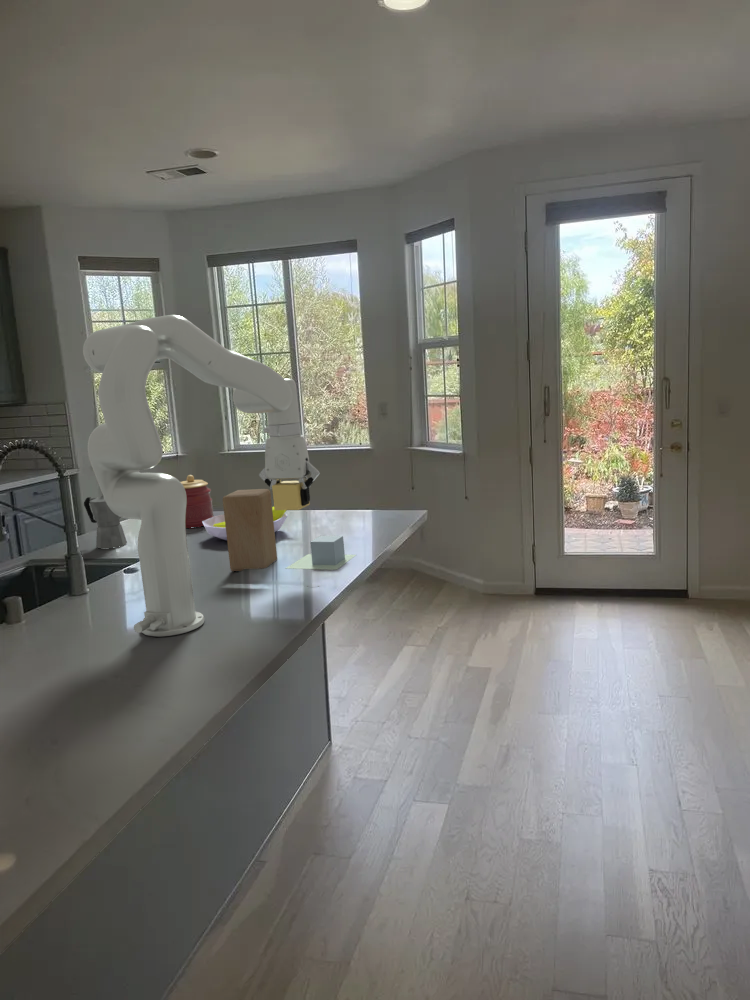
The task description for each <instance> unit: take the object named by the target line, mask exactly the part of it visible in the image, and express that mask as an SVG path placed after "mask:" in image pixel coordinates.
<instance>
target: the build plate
mask: <svg viewBox="0 0 750 1000" xmlns="http://www.w3.org/2000/svg"><path fill="white" fill-rule="evenodd" d="M356 556H357V554H345V559H344V560H342V561H341V562H339V563H338V564H337V565H312V555H311V553H307V554H306V555H305V556H302V557H301V558H299V559H298V560H296V561H295V562H293V563H292V564H290V565H288V566H286V567H285V568H284V569H286V570H287V569H288V570H294V569H295V570H329V571H330V570H333V571H334V570H339V569H340V568H342V567H343V566H344V565H346V564H347V562H349V561H350V560H352V559H353V558H355V557H356Z"/></svg>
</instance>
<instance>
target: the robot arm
mask: <svg viewBox="0 0 750 1000" xmlns="http://www.w3.org/2000/svg"><path fill="white" fill-rule="evenodd" d="M82 354H83V358H84V360H85V362H86V364H87V365H88V366H89V367H90V368H91V369H92V370H94V371H96V372H97V373H99V374H100V373H101V377H100V379H99V380H100V381H99V384H98V393H97V394H98V402H99V406H100V410H101V414H102V416H103V420H104V422H103V423H101V424H99V425H98V426H96V427H95V428H94V429H93V430H92V432H91V433H90V435H89V437H88V440H87V457H88V459H89V462H90V465H91V466H90V467H91V468H92V470H93V473H94V475H95V479H96V481H97V483H98V487H99V488H100V492H101V491H102V492H101V495H102V496H104V499H105V501H106V503H107V505H108V507H109V508H110V509H111V511H112V512H113V513H114V514H116V515H117V516H120V517H121V518H123V519H127V520H128V519H129V520H137V521H141V522H140V528H139V530H138V534H137V535H138V536H137V551H138V560H139V565H140V573H141V581H142V582H141V583H142V589H143V595H144V602H145V609H146V611H144V612H143V615H144V616H143V617H144V618H142V620H140V621H139V622H137V623H136V624H134V626H133V630H134V632H136V633H137V634H140V633H141V634H143V635H145V636H148V637H171V636H176V635H181V634H185V633H189V632H191V631H194V630H196V629H198V628H199V627H202V625H203V624H204V623H205V617H204V614H203V613H201V612H199V611H196V605H195V596H194V589H193V581H192V573H191V565H190V563H191V562H190V557H189V547H188V539H187V530H186V526H185V518H186V505H187V496H186V491H185V488H184V486H183V485H182V483H181V482H182V481H180V479H178V478H177V477H175V476H173V475H170V474H167V473H163V472H140V471H144V470H145V471H146V470H150V469H152V468H154V467H156V466H157V465H158V464H160V462H161V460H162V457H163V454H164V453H163V444H162V442H161V441H162V440H161V438H160V435H159V433H158V432H159V431H158V429H157V426H156V423H155V421H154V417H153V415H152V412H151V408H150V406H149V402H148V398H147V395H146V394H147V393H146V386H147V379H148V376H149V374H150V371H151V370H152V368H153V366H154V364H155V363H156V361H157V360H166V359H168V360H171V361H173V362H174V363H175V364H177V365H179V366H181V367H182V368H183V369H185V370H186V371H188V372H189V373H191V374H193V376H195V377H196V378H197V379H199V380H201V381H202V382H203V383H206V384H209V385H213V386H217V387H220V388H228V389H234V390H233V393H232V401H233V404H234V406H235V407H236V409H238V410H239V411H241V412H242V413H245V414H265V413H266V417H267V426H265V427H264V428H263V432H264V434H265V433H266V434H268V436H269V437H267V438H266V439H265V448H264V461H265V462H264V463H265V464H264V467H263V469H262V470H261V471H260V472H259V473H258V477H259V478H261V480H263V481H264V482H265V484H266V485H267V486H268V487H269V490H272V485H275V484H278V483H280V482H282V480H297V481H299V483H300V485H301V487H302V489H301V490H300V495H301V505H302V506H305V505H307V504H309V502H310V501H311V495H310V488H311V486H312V485H313V483H315V480H316V479H317V478H318V477H319V475H320V474H321V473H320V471H319V469H317V468H316V467H315V466H314V465H313V464H312V463H311V462H310V457H309V456H310V455H309V452H308V446H307V443H306V439H305V437H304V435H302V433H301V432H302V431H301V421H300V411H299V401H298V391H297V385H296V381H295V380H294V379H293V378H284V377H283V376H282V375H280V374H279V373H278V372H276V371H275V370H274V369H273V368H271V367H270V366H268V365H266V364H264V363H263V362H260V361H259V360H256V359H253V358H251V357H248V356H246V355H243V354H241V353H238V352H235V351H233V350H230V349H228V348H226V347H224V346H223V345H222V344H220V343H219V342H218V341H217V340H215V339H214V338H212V337H211V336H210V335H209V334H207V333H206V332H204V331H203V330H201V328H199V327H198V326H197V325H195V324H194V323H193V322H191V321H190V320H189V319H187V318H186V317H183V316H181V315H177V314H168V315H162V316H161V315H160V316H155V317H150V318H149V317H148V318H144V319H140V320H137V321H136V320H135V321H133V322H128V323H125V324H122V325H121V324H120V325H116V326H110V327H108V328H103V329H102V328H101V329H98V330H95V331H93V332H92V333H90V334H89V335H88V336H87V337H86V339H85V340H84V342H83V347H82ZM309 475H310V476H309ZM308 476H309V477H308ZM271 492H272V493H273V490H272V491H271ZM273 502H274V500H273Z"/></svg>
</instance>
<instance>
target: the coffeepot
mask: <svg viewBox="0 0 750 1000" xmlns="http://www.w3.org/2000/svg"><path fill="white" fill-rule="evenodd" d="M100 492H101V493H102V491H101V490H100ZM83 506H84V508H85V510H86V513H87V515H88V518H89V520H90V523H93V524H96V523H97V527H96V536H95V537H96V543H95V548H96V547H98V548H113V547H118V548H120V547H119V546H122V547H124V546H126V545H127V543H128V541H127V538H126V535H125V531H124V528H123V526H122V524H121V518H122V517H120V516H117V515H116V514H114V513H113V512H112V511H111V509H110V508H109V507H108V505H107V503H106V501H105V499H104V496H103V495H101V496H99V497H91V496H89V497H88V496H87V497H86V498H85V499H84V501H83ZM125 544H126V545H125ZM123 545H124V546H123ZM98 548H97V549H98ZM113 549H114V548H113Z"/></svg>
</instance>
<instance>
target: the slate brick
mask: <svg viewBox="0 0 750 1000" xmlns="http://www.w3.org/2000/svg"><path fill="white" fill-rule="evenodd" d="M309 543H310V554H311V555H312V565H337V564H338V563H339V562H341V561H342V560H344V559H345V555H346V554H345V546H344V545H345V542H344V536H343V535H320V536H317V537H316V538H314V539H312V540H311V541H310V542H309Z"/></svg>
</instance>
